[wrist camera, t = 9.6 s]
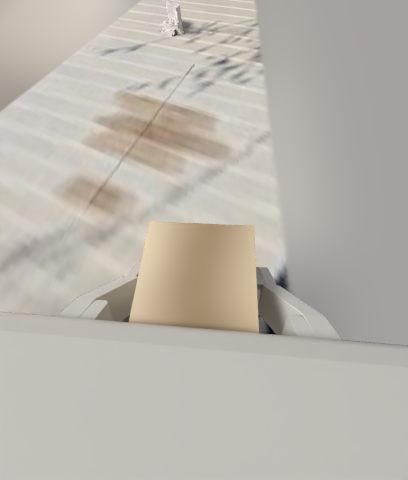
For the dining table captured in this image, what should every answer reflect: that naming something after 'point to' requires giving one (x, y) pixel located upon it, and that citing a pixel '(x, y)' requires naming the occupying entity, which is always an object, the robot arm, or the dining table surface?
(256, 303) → the beech block
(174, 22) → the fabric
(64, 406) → the robot arm
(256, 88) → the dining table surface
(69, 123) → the dining table surface
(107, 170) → the dining table surface
